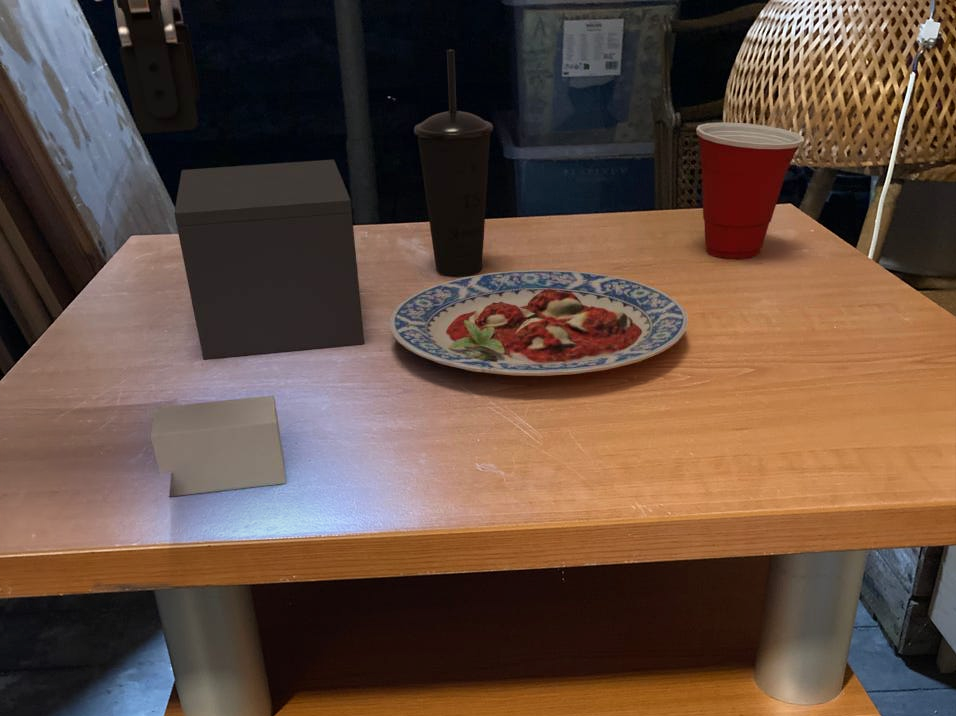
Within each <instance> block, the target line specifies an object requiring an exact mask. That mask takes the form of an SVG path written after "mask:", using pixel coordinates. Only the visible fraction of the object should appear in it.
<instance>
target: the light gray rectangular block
mask: <svg viewBox="0 0 956 716" xmlns="http://www.w3.org/2000/svg"><path fill="white" fill-rule="evenodd" d="M276 404H277V403H276V399H275V396H274V395H265V396H254V397H244V398H236V399H225V400H216V401H215V400H214V401H205V402H196V403H195V402H194V403H186V404H178V405H168V406H158V407H154V409H153V415H152V423H151V430H150V440H151V444H152V448H153V452H154V456H155V461H156V464H157V469H158V471H159V472H158V473H159V474H165V473H170V482H169V483H170V484H169V493H168V497H178V496H188V495H196V494H205V493H214V492H222V491H229V490H230V491H231V490H239V489H249V488H256V487H265V486H273V485H274V486H275V485H283V484H287V476H286V466H285V457H284V456H285V455H284V450H283V443H282V436H281V431H280V424H279V423H280V422H279V417H278V412H277V405H276Z"/></svg>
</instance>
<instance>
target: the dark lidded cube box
mask: <svg viewBox="0 0 956 716" xmlns="http://www.w3.org/2000/svg"><path fill="white" fill-rule="evenodd" d="M341 175H342V174H341V173H340V171H339V168H338V165H337V164H336V161H335V159H322V160H307V161H293V162H292V161H291V162H277V163H265V164H264V163H262V164H251V165H249V164H248V165H234V166H220V167H208V168H207V167H205V168H193V169H190V168H189V169H182V170H181V173H180V178H179V184H178V190H177V195H176V200H175V201H176V202H175V206H174V207H175V208H174V218H175V219H174V221H175V224H176V230H177V236H178V240H179V244H180V249H181V254H182V259H183V264H184V269H185V274H186V280H187V285H188V290H189V294H190V300H191V305H192V311H193V315H194V319H195V325H196V330H197V334H198V339H199V346H200V350H201V355H202V359H203V360H210V359H221V358H222V359H223V358H232V357H242V356H253V355H263V354H274V353H283V352H293V351H295V352H296V351H306V350H314V349H324V348H335V347H346V346H356V345H364V344H365V335H364V334H365V333H364V324H363V313H362V304H361V303H362V302H361V294H360V293H361V291H360V284H359V283H360V282H359V273H358V263H357V252H356V243H355V242H356V241H355V232H354V231H355V230H354V221H353V210H352V201H351V198H350V195H349V192H348V191H347V187H346V186H345V183H344V180H343V178H342V176H341Z"/></svg>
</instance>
